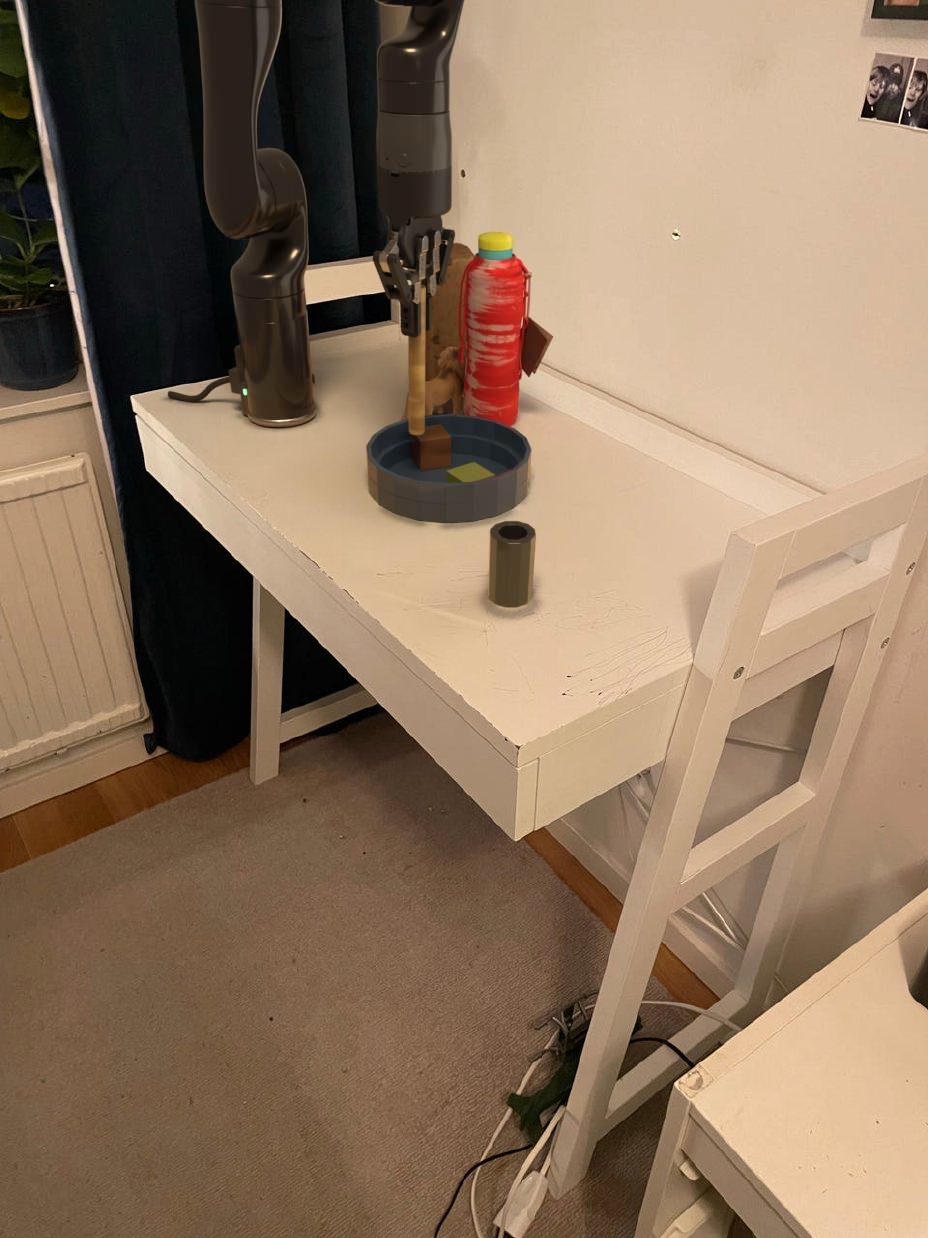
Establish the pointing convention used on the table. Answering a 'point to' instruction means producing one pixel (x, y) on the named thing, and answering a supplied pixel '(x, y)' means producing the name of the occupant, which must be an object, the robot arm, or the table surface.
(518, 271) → the water bottle
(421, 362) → the stirring stick
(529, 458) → the bowl
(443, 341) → the block
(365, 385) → the table surface
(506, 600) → the holder
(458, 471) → the olive block
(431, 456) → the walnut block
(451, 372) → the lion figurine
